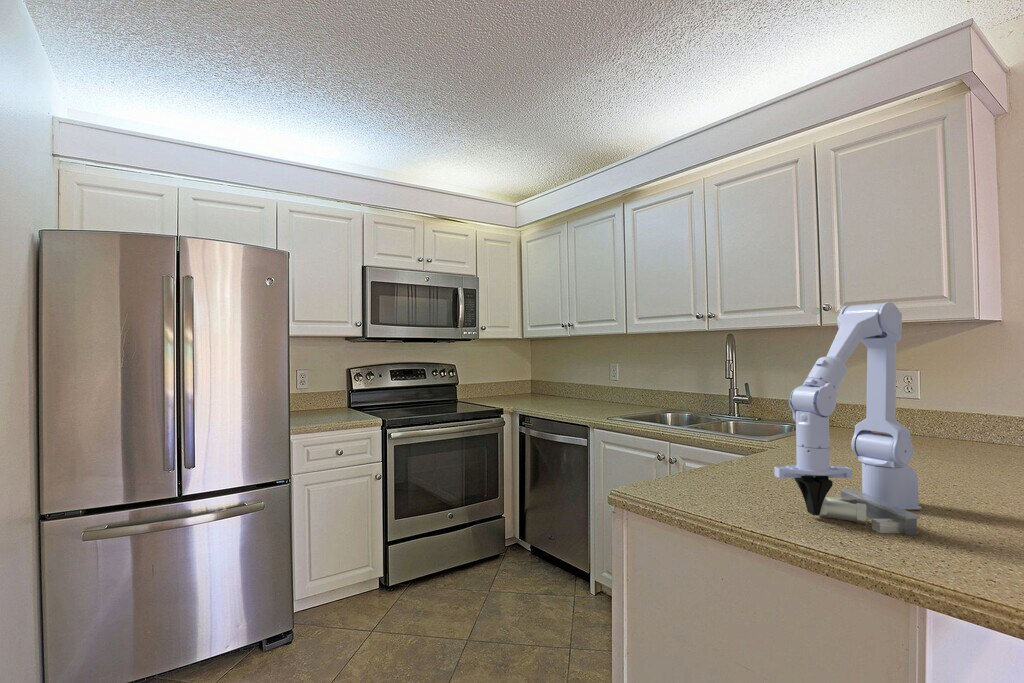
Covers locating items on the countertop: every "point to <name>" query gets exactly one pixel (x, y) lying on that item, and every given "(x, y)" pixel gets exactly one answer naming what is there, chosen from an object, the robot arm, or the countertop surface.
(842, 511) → the pipe fitting
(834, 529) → the countertop surface
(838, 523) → the countertop surface
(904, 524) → the grey bracket
